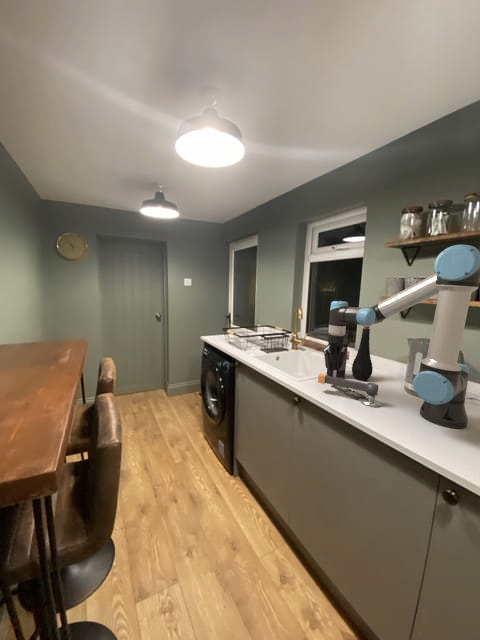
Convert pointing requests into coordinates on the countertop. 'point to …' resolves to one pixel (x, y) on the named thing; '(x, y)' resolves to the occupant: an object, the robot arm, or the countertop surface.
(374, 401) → the pivot post
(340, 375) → the electronic device
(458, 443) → the countertop surface
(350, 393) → the power supply label
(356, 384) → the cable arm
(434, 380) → the robot arm
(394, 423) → the countertop surface
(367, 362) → the bottle
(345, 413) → the countertop surface
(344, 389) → the psu label
